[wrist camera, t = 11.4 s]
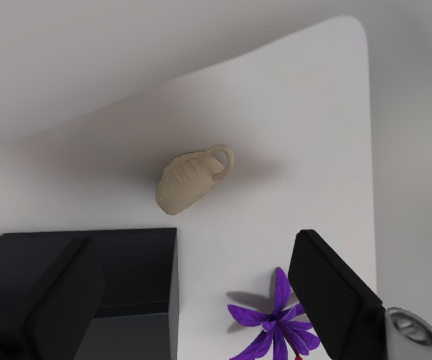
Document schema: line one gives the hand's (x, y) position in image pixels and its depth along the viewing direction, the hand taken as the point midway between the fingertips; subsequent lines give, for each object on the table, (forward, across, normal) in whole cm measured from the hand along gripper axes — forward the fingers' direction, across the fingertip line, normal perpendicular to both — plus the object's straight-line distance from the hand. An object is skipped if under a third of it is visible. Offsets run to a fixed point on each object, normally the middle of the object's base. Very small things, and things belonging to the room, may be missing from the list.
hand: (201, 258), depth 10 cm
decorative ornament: (+12, 0, 0) cm, 12 cm away
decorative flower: (+12, -11, +20) cm, 25 cm away
